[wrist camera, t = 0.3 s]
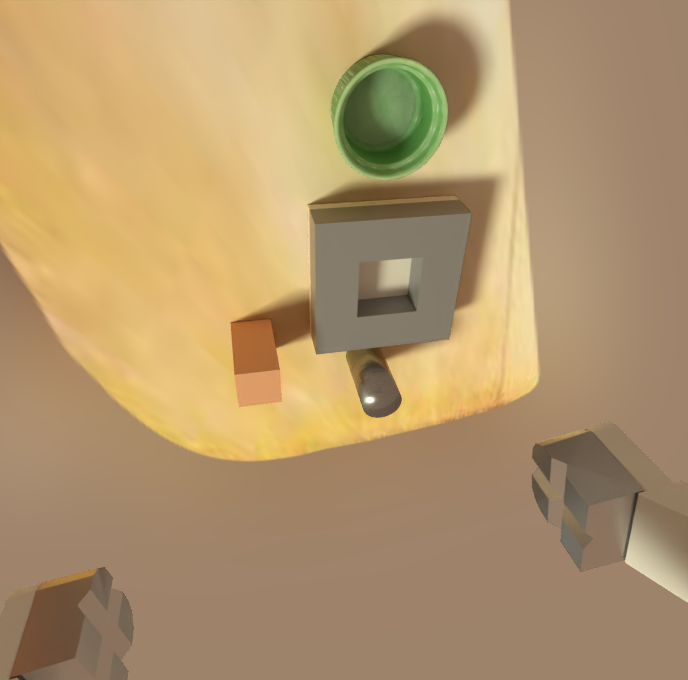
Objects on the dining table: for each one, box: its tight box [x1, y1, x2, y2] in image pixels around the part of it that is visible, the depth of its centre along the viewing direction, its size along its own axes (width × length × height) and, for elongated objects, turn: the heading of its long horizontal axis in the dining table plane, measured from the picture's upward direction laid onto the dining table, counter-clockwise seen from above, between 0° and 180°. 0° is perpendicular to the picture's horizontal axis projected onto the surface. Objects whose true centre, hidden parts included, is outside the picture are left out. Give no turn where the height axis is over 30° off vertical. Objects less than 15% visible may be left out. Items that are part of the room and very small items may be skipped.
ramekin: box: [331, 54, 448, 180], centre depth 42 cm, size 9×9×4 cm
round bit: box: [346, 347, 402, 418], centre depth 57 cm, size 4×4×8 cm
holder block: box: [308, 195, 472, 354], centre depth 52 cm, size 14×14×4 cm
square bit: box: [231, 319, 282, 407], centre depth 52 cm, size 4×4×8 cm
